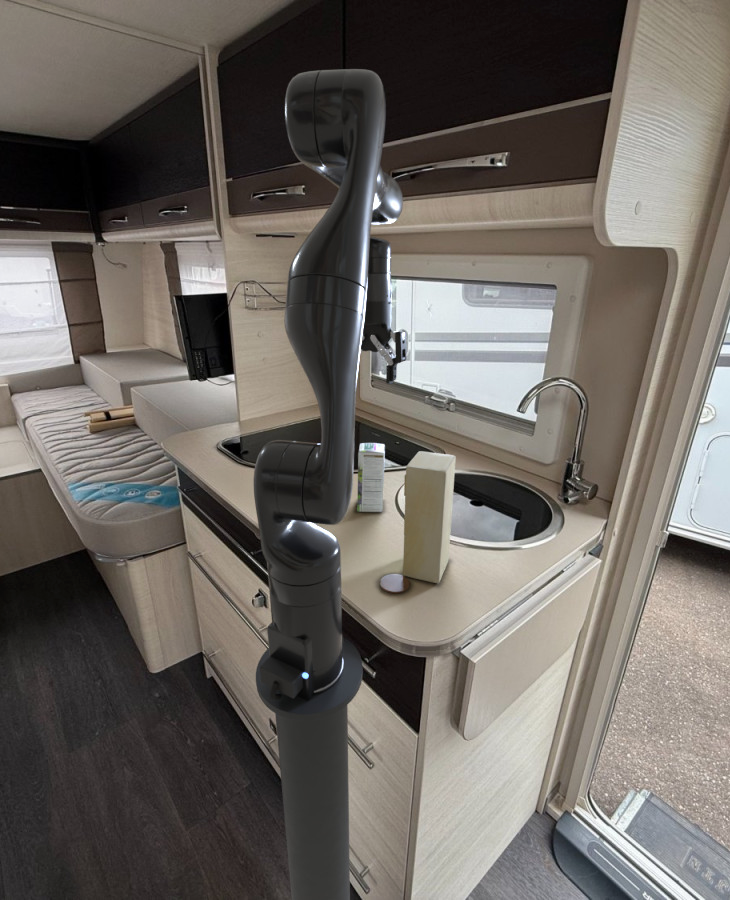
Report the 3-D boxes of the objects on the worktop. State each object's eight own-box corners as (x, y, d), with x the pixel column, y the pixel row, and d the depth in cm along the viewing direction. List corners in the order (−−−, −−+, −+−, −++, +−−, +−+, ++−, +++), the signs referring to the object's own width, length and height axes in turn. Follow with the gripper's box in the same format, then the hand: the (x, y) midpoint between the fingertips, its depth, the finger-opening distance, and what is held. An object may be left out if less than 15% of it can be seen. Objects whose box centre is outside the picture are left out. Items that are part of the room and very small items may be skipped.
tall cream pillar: (410, 551, 90) (415, 449, 82) (448, 560, 87) (457, 455, 79) (398, 575, 83) (401, 465, 75) (438, 584, 80) (446, 472, 73)
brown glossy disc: (401, 597, 77) (401, 595, 77) (374, 587, 79) (374, 585, 79) (413, 581, 81) (413, 579, 81) (387, 572, 83) (387, 570, 83)
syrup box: (358, 500, 110) (358, 442, 104) (383, 501, 109) (384, 442, 104) (357, 512, 104) (357, 451, 99) (383, 512, 104) (385, 452, 99)
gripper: (330, 298, 91) (332, 380, 97) (397, 300, 84) (395, 388, 90) (350, 296, 97) (350, 374, 103) (413, 298, 90) (410, 381, 96)
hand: (371, 380), depth 96 cm, fingers open, 8 cm apart
